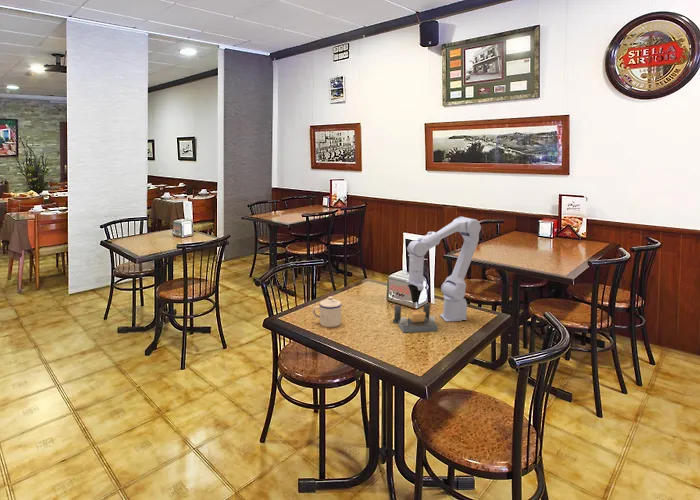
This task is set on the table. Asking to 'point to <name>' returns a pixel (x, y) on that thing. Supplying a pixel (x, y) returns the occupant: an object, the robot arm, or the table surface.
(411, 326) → the panel
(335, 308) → the teacup with lid
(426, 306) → the post
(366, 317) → the table surface
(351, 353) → the table surface
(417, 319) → the tan flat block
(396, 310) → the cord post
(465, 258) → the robot arm
